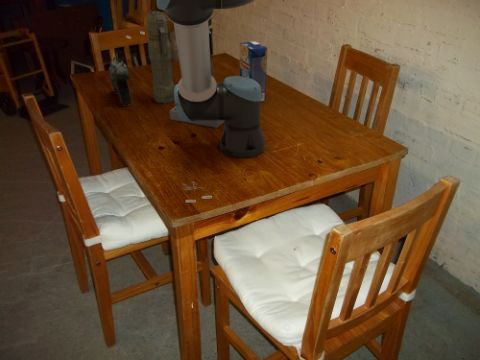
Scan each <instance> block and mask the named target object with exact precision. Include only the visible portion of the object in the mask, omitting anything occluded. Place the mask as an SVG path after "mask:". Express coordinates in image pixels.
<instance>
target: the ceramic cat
mask: <svg viewBox="0 0 480 360" xmlns="http://www.w3.org/2000/svg"><path fill="white" fill-rule="evenodd" d="M115 56H116V57H113V59H112V61H110V62H109V63H110V65H109V67H108V73H109V79H110V81H111V82H110V83H111V86H112V89H113V90H114V91H115V92H114V94H115V93H118V96H119V101H120V105H121V106H122V105H128V104H131V105H132V101H131V100H132V99H131V93H130V87H129V83H128V80H129V79H130V75H129V70H128V67H127V64H126V63H125V62H124V60H121V61H119V57H118V52H115Z"/></svg>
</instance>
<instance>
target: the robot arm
mask: <svg viewBox="0 0 480 360" xmlns="http://www.w3.org/2000/svg"><path fill="white" fill-rule="evenodd" d="M253 2H255V0H156V6H157V9H158V10H161V11H164V12H165V16H166V18H167V19H168V20H169V21H170V22H172V23H173V27H174V33H175V34H174V35H175V40H176V41H175V42H176V47H177V48H176V49H177V53H178V54H177V55H178V61H179V69H180V74H181V78H180V79H179V81H178V83H177V84H175V85H174V87H175V89H174V99H175V101H174V103H175V106H176V110H177V113H178V116H179V117H180V119H182V120H184V121H214V120H225V122H224V128H223V131H222V133H221V134H222V135H221V136H220V140H219V149H220V151H221V152H222V153H223V154H225V155H226V156H230V157H231V158H232V157H233V158H237V157H239V158H238V159H242V158H243V159H244V158H245V157H248V158H252V157H256V156H259V155H260V154H262V153H264V151H265V149H266V140H265V137H264V134H263V131H262V127H261V118H262V117H261V111H262V110H261V109H262V108H261V107H262V103H261V102H262V101H261V100H262V97H261V87H260V85H259V83H257V82H256V81H255V80H252V79H250V78H247V77H241V76H240V75H233V76H227V77H225V78H224V80H223V82H217V81H216V79H215V77H214V76H213V77H212V76H211V64H210V52H211V53H212V60H213V59H214V47H213V46H214V43H213V42H214V41H213V31H214V30H213V29H214V28H212V27H210V26H212V24H213V21H212V20H213V19H212V17H213V15H214V12H215V11H214V10H230V9H235V8H239V7H243V6H247V5H249V4H251V3H253ZM258 154H259V155H258ZM245 159H246V158H245Z"/></svg>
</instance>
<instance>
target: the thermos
mask: <svg viewBox="0 0 480 360" xmlns="http://www.w3.org/2000/svg"><path fill="white" fill-rule="evenodd" d="M146 28H147V35H148V43H147V50H148V51H147V52H148V58H149V61H150V65H151V72H152V73H151V74H152V84H151V85H152V94H153V101H154V102H155V101H156V102H158V103H157V104H159V103H164V104H163V105H165V104H166V105H167V103H168V104H171V103H173V102H174V103H175V99H174V89H175V83H174V81H173V70H172V69H173V68H172V55H173V54H172V45H171V42H170V40H169V36H168V34H169V30H168V21H167V16H166V13H164V12H162V10H161V11H160V10H152V11H149V12H148V13H147V17H146ZM156 102H155V103H156Z"/></svg>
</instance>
